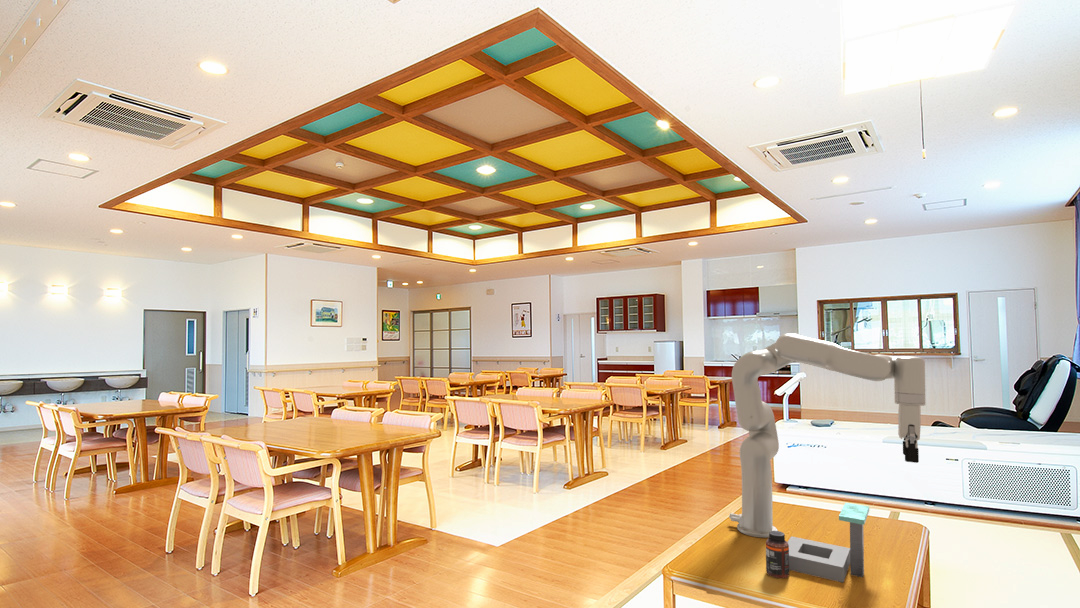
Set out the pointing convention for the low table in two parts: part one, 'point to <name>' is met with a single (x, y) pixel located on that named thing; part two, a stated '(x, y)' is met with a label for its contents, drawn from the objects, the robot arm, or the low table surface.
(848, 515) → the teal-capped gray pillar
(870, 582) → the low table surface
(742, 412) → the robot arm
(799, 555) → the socket block
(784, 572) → the supplement bottle
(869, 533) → the low table surface
